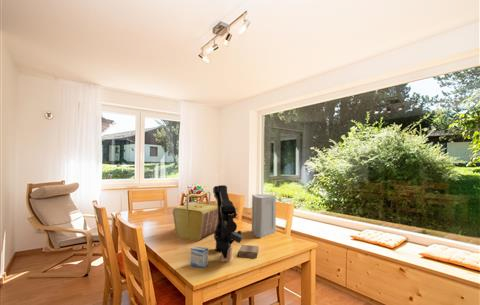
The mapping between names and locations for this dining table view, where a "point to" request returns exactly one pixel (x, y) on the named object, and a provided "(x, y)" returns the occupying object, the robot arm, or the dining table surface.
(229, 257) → the terracotta block
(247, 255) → the walnut base
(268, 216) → the grey upright carton
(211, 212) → the picnic basket
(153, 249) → the dining table surface
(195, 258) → the medicine box
